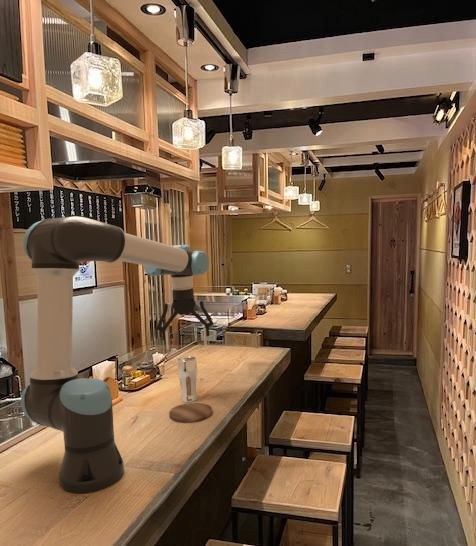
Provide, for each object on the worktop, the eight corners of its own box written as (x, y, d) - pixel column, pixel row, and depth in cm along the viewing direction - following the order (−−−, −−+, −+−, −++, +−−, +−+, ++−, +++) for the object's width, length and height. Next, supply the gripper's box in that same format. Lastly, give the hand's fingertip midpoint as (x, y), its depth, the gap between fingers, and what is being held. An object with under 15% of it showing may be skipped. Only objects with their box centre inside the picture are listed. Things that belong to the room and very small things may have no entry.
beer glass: (195, 403, 157) (193, 361, 156) (177, 402, 159) (174, 361, 158) (201, 396, 164) (199, 356, 163) (183, 395, 165) (180, 356, 164)
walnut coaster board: (191, 426, 138) (191, 422, 137) (160, 417, 146) (160, 413, 146) (220, 411, 149) (220, 407, 149) (189, 403, 157) (189, 400, 157)
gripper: (216, 284, 164) (220, 341, 166) (147, 289, 160) (152, 347, 162) (218, 286, 156) (222, 346, 158) (146, 292, 153) (150, 352, 155)
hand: (186, 347), depth 160 cm, fingers open, 13 cm apart
